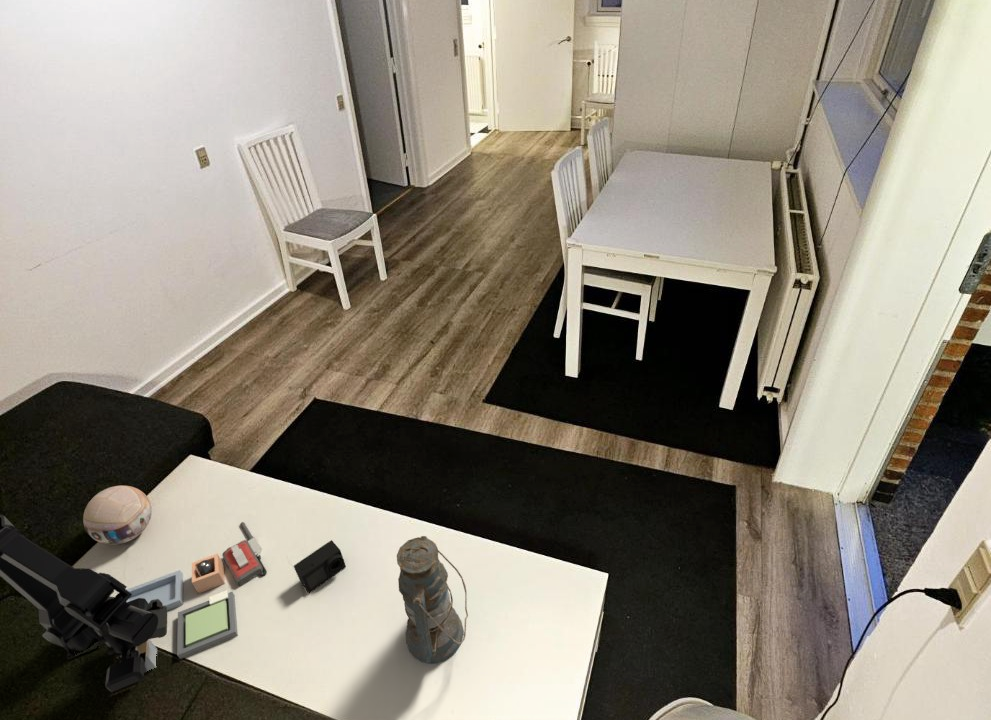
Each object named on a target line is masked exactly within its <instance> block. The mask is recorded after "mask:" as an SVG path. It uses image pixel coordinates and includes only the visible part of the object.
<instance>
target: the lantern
mask: <svg viewBox="0 0 991 720" xmlns="http://www.w3.org/2000/svg"><path fill="white" fill-rule="evenodd" d="M439 555H440V556H441V557H442V558H443V559H444V560H445V561H446V562H447V563H448V564H449V565H450V566H452V567H451V568H453V569H454V570H455V571H456V573H457V575H458V576H459V577H460V579H461V582H462V585H463V589H464V593H465V595H464V597H465V600H464V609H465V610H464V611H465V613H466V617H465V618H464V626H463V622H462V620H461V618H460V616H459V614H458V613H457V612H456V610H455V608H454V607H453V601H454V598H453V594H452V591H451V589H450V587H449V585H448V583H447V582H448V577H449V574H448V573H449V572H448V571H447V569H446V567H445V565H444V563H442V562H441V561H440V559H439ZM396 561H397V565H398V567H399V570H400V572H399V576H398V579H397V580H398V582H397V583H398V592H399V593H400V594H401V596H402V600H403V602H404V610H405V614H406V615H407V618H408V619H407V621H406V632H405V641H406V642H405V644H406V646H407V649H408V651H409V653H410V654H411V655H412V657H414V659H416V660H417V661H420V662H421V663H425V664H438V663H441V662H444V661H447V660H449V659H450V658H451V657H452V656H453V655H455V654H456V652H457V651H458V650H459V648H460V647H461V645H462V644H463V643H464V641H465V639H466V636H467V635H466V634H467V619H468V617H469V615H468V614H469V613H468V609H467V607H468V606H467V605H468V604H467V600H468V599H467V587H466V584H465V580H464V579H463V576H462V575H461V572H459V570H458V569H457V567H455V566H454V564H452V562H451V561H450V560H449V559H448V558H447V557H446V556H445V555H444V554H443V553H442V552H441V551H440V550H439V549H438V545H437V544H436V542H434V541H433V540H431V539H429V538H428V537H427V536H426V535H421V536H420V537H414V538H411V539H408V540H406V542H405V543H403V544H402V545H401V546H400V547H399V548H398V551H397V554H396Z"/></svg>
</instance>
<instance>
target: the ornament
mask: <svg viewBox="0 0 991 720" xmlns="http://www.w3.org/2000/svg"><path fill="white" fill-rule="evenodd" d="M152 512H153V511H152V504H151V502H150V500H149V497H148V496H147V495H146V494H145V493H144V491H142V490H140V489H139V488H137V487H134V486H130V485H115V486H114V485H113V486H110V487H107V488H104V489H103V490H101V491H99V492H98V493H97V494H95V495H94V496H93V497H92V498H91V500H90V501H88V503H87V505H86V507H85V509H84V512H83V516H82V521H83V526H84V529H85V532H86V533H87V534H88V535H89V536H90V537H91V538H92V539H93V540H94V541H96V542H98V543H101V544H104V545H113V546H114V545H120V544H121V545H122V544H124V543H127V542H130V541H132V540H134V539H135V538H137V537H138V536H139V535H141V534H142V533H143V532H144V531H145V530H146V529H147V527H148V525H149V523H150V521H151V518H152Z"/></svg>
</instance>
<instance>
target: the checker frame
mask: <svg viewBox="0 0 991 720" xmlns="http://www.w3.org/2000/svg"><path fill="white" fill-rule="evenodd" d="M208 598H209V599H208V600H206V601H204V602H202V603H199V604H196V605H194V606H193V605H192V606H191V607H188V608H186V609H185V608H184V609H183V610H181V611H178V612H177V638H176V639H177V641H176V642H177V645H176V646H177V649H176V652H177V654H176V655H177V657H178V658H179V660H183V659H184V658H187V657H189V656H191V655H193V654H197V653H198V652H201V651H203V650H206V649H208V648H211V647H213V646H216V645H218V644H221V643H224V642H225V641H227V640H228V641H229V640H231V639H232V638H235V637H237V636H238V635H239V634H238V624H237V623H238V621H237V610H236V609H237V608H236V597H235V593H234V591H228V589H227V590H223V591H221V592H218V593H216V594H213V595H211V596H209V597H208ZM224 600H225V601H226V603H228V614H229V627H230V628H229V629H228V630H227V631H225V632H222V633H220V634H217V635H215V636H212V637H210V638H208V639H205V640H203V641H200V642H198V643H195V644H193V645H190V646H188V647H187V646H186V615H189V614H191V613H194V612H196V611H199V610H201V609H204V608H206V607H209V606H212V605H214V604H217V603H219V602H222V601H224Z"/></svg>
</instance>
